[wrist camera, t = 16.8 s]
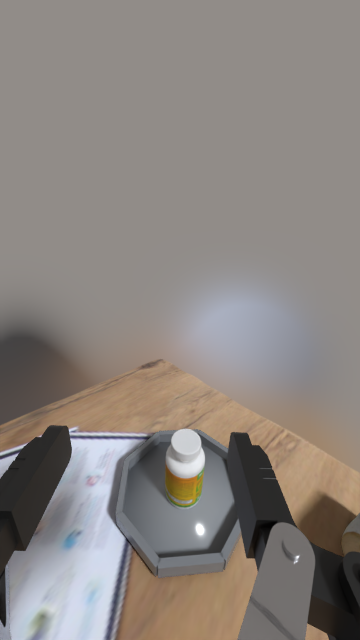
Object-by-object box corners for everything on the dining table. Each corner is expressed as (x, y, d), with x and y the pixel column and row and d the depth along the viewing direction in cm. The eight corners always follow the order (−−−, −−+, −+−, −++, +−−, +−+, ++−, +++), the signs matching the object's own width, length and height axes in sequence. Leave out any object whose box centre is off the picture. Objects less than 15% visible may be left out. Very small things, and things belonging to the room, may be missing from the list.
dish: (94, 497, 32) (93, 485, 31) (176, 424, 45) (177, 415, 44) (195, 633, 21) (196, 621, 20) (265, 485, 34) (267, 474, 33)
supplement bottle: (200, 514, 30) (206, 462, 26) (161, 507, 30) (162, 456, 27) (202, 474, 35) (207, 427, 31) (168, 469, 35) (169, 422, 32)
